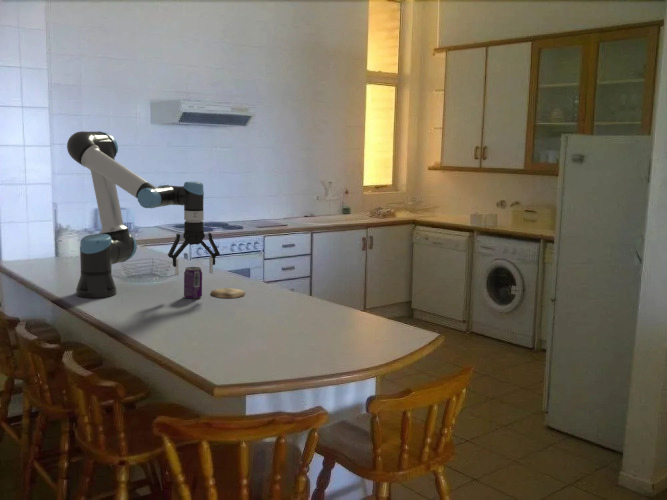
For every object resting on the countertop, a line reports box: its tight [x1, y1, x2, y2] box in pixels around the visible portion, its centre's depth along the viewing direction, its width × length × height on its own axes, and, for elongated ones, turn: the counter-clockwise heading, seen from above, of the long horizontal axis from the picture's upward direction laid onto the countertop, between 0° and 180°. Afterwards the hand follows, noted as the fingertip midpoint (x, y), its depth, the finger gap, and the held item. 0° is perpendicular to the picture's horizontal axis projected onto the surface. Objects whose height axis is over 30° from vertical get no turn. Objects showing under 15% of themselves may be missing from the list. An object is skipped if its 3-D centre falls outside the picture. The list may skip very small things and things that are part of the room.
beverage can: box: [183, 266, 203, 300], centre depth 277 cm, size 7×7×12 cm
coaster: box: [210, 287, 246, 299], centre depth 287 cm, size 14×14×1 cm
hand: (194, 274), depth 277 cm, fingers open, 13 cm apart
